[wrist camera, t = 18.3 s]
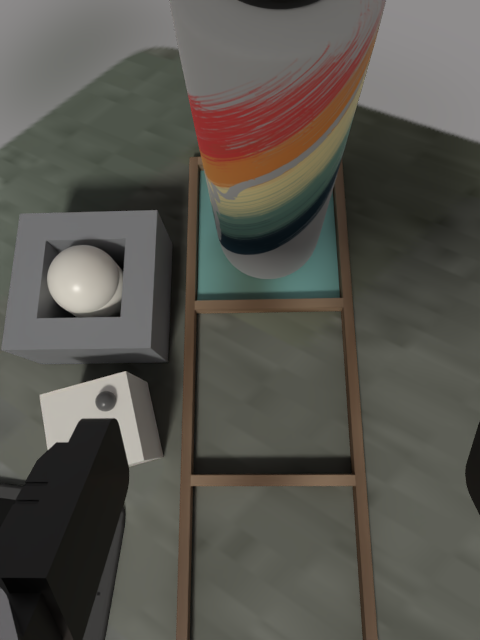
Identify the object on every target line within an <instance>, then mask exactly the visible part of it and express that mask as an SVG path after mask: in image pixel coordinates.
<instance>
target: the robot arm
mask: <svg viewBox="0 0 480 640" xmlns="http://www.w3.org/2000/svg"><path fill="white" fill-rule="evenodd" d="M465 476H466V484H467V488H468V491H469V494H470V496H471V498H472V500H473V502H474V504H475V506H476V508H477V510H478V512H479V515H480V422H479V425H478V428H477V431H476V435H475V438H474V441H473V444H472V448H471V451H470V454H469V457H468V461H467V464H466V470H465ZM25 483H26V484H25V486H23V487H22V489H21V491H20V492H19V494H18V496H17V498H16V502H15V504H13V505H12V507H11V509H10V511H9V512H8V514H7V516H6V518H5V520H4V521H3V523H2V525H1V527H0V640H83V637H84V634H85V630H86V627H87V624H88V620H89V617H90V614H91V611H92V607H93V604H94V601H95V597H96V594H97V591H98V587H99V584H100V581H101V577H102V574H103V571H104V567H105V564H106V561H107V557H108V554H109V551H110V548H111V544H112V541H113V538H114V534H115V531H116V528H117V524H118V521H119V518H120V514H121V511H122V508H123V504H124V501H125V498H126V494H127V490H128V484H129V465H128V461H127V456H126V452H125V448H124V443H123V439H122V435H121V431H120V426H119V423H118V421H117V419H115V418H83V419H81V420H80V421H79V422H78V424H77V426H76V428H75V430H74V432H73V434H72V436H71V438H70V440H69V442H56V443H55V444H54V445H53V446H52V447H51V448H50V449H49V450H48V451H47V452H46V453H45V454H43V455H42V456H41V457H40V458H39V459H38V460H37V462H36V463H35V465H34V467H33V469H32V471H31V472H30V474H29V476H28V478H27V480H26V482H25Z"/></svg>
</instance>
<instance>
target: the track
mask: <svg viewBox="0 0 480 640" xmlns="http://www.w3.org/2000/svg"><path fill="white" fill-rule="evenodd" d="M199 178H200V194H199ZM333 199H334V202H333ZM334 214H335V217H334ZM198 225H199V242H198ZM335 229H336V232H335ZM336 244H337V247H336ZM337 259H338V262H337ZM197 272H198V290H197ZM338 274H339V277H338ZM339 289H340V292H339ZM313 311H341V319H342V334H343V349H344V364H345V379H346V394H347V409H348V424H349V439H350V454H351V469H352V474H193V461H194V414H195V367H196V320H197V313H255V312H313ZM193 486H353V499H354V514H355V529H356V544H357V559H358V574H359V589H360V604H361V619H362V634H363V640H378V636H377V623H376V610H375V596H374V583H373V569H372V556H371V542H370V529H369V515H368V502H367V488H366V475H365V461H364V448H363V434H362V421H361V407H360V394H359V380H358V367H357V353H356V340H355V326H354V313H353V299H352V286H351V272H350V259H349V245H348V232H347V218H346V205H345V191H344V178H343V164H342V159H341V163H340V166H339V170H338V173H337V177H336V180H335V184H334V187H333V191H332V194H331V198H330V201H329V205H328V208H327V212H326V215H325V219H324V222H323V226H322V229H321V232H320V236H319V239H318V242H317V245H316V247H315V249H314V251H313V253H312V255H311V257H310V258H309V259H308V261H307V262H306V263H305V264H304V265H303V266H302V267H301V268H299V269H298V270H297V271H295V272H294V273H292V274H290V275H287V276H285V277H281V278H277V279H260V278H255V277H252V276H249V275H247V274H245V273H243V272H241V271H240V270H238V269H237V268H236V267H235V266H233V265H232V264H231V262H230V261H229V260H228V259H227V257H226V256H225V254H224V252H223V250H222V247H221V245H220V241H219V238H218V234H217V229H216V225H215V220H214V215H213V211H212V206H211V201H210V196H209V192H208V187H207V182H206V177H205V173H204V168H203V163H202V158H201V157H190V164H189V199H188V235H187V270H186V306H185V342H184V377H183V413H182V449H181V484H180V520H179V556H178V591H177V627H176V640H190V603H191V556H192V509H193Z"/></svg>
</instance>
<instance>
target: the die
mask: <svg viewBox="0 0 480 640" xmlns="http://www.w3.org/2000/svg"><path fill="white" fill-rule="evenodd" d="M40 401H41V408H42V415H43V421H44V428H45V435H46V441H47V448H48V450H49V449H50V448H51V447H52V446H53V445H54V444H55V443H56V442H69V440H70V438H71V436H72V434H73V432H74V430H75V428H76V426H77V424H78V422H79V421H80V420H81V419H83V418H115V419H117V421H118V423H119V426H120V431H121V435H122V439H123V443H124V448H125V452H126V456H127V461H128V465H129V467H130V466H134V465H137V464H141V463H144V462H148V461H151V460H155V459H158V458H162V457H164V456H163V451H162V447H161V442H160V438H159V433H158V428H157V424H156V419H155V415H154V410H153V405H152V401H151V396H150V391H149V387H148V382H146V381H144V380H142V379H140V378H138V377H136V376H134V375H133V374H131V373H129V372H127V371H124V372H121V373H117V374H113V375H110V376H106V377H103V378H99V379H95V380H92V381H88V382H85V383H81V384H77V385H74V386H70V387H66V388H63V389H59V390H56V391H52V392H48V393H45V394H41V395H40Z"/></svg>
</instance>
